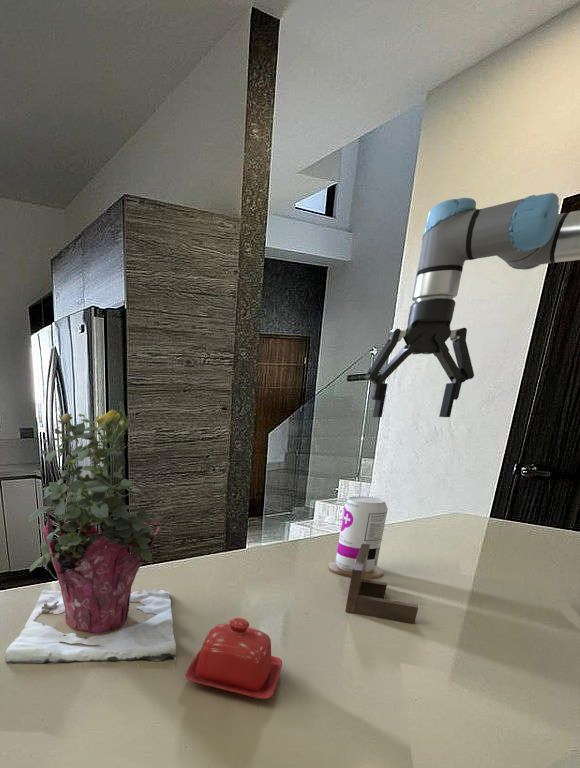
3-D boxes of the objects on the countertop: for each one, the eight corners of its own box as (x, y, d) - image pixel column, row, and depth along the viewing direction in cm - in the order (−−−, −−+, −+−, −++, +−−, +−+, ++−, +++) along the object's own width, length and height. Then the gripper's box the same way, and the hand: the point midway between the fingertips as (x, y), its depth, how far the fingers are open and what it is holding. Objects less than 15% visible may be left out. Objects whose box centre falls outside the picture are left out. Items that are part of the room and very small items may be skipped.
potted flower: (43, 593, 93) (29, 401, 81) (169, 594, 93) (175, 401, 80) (4, 662, 69) (-25, 402, 56) (176, 665, 68) (186, 401, 55)
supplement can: (336, 571, 103) (348, 502, 97) (333, 560, 110) (343, 495, 105) (378, 575, 101) (392, 504, 95) (372, 563, 108) (384, 497, 103)
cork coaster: (383, 566, 108) (384, 564, 107) (381, 582, 99) (381, 579, 98) (331, 559, 113) (332, 557, 112) (324, 573, 104) (324, 570, 103)
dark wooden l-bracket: (414, 589, 95) (423, 550, 92) (414, 624, 80) (424, 579, 77) (355, 580, 100) (361, 543, 97) (345, 611, 85) (352, 569, 82)
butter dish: (283, 665, 68) (291, 610, 65) (270, 709, 58) (277, 647, 55) (205, 648, 72) (208, 597, 69) (180, 687, 63) (182, 629, 60)
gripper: (488, 303, 95) (462, 416, 103) (359, 305, 97) (343, 416, 104) (514, 295, 88) (484, 417, 96) (374, 298, 90) (355, 417, 97)
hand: (410, 417), depth 100 cm, fingers open, 13 cm apart
